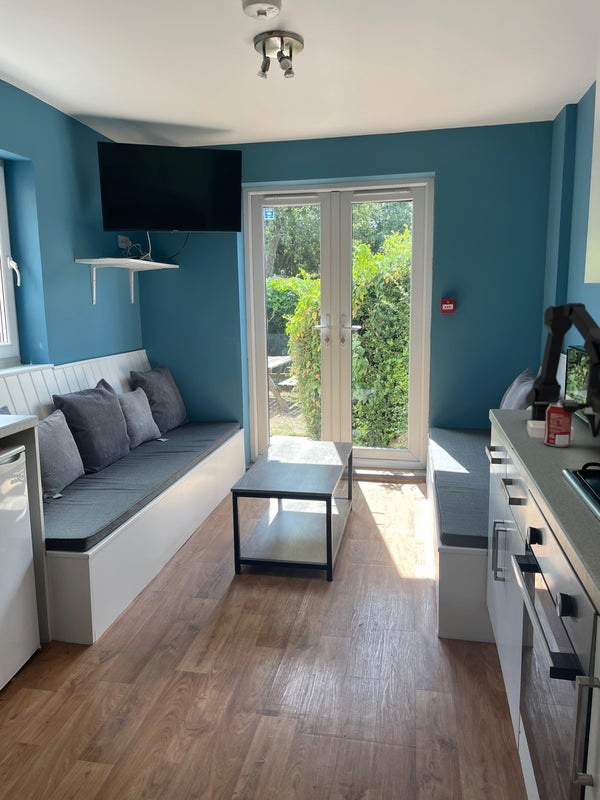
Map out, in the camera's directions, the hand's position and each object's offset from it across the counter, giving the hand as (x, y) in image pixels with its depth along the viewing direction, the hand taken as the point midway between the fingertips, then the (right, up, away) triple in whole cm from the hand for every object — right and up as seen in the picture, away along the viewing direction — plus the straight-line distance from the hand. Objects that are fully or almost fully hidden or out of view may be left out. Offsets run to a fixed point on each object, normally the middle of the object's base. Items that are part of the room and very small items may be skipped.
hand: (594, 437), depth 162 cm
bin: (-7, -1, +14) cm, 16 cm away
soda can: (-9, -3, +3) cm, 10 cm away
